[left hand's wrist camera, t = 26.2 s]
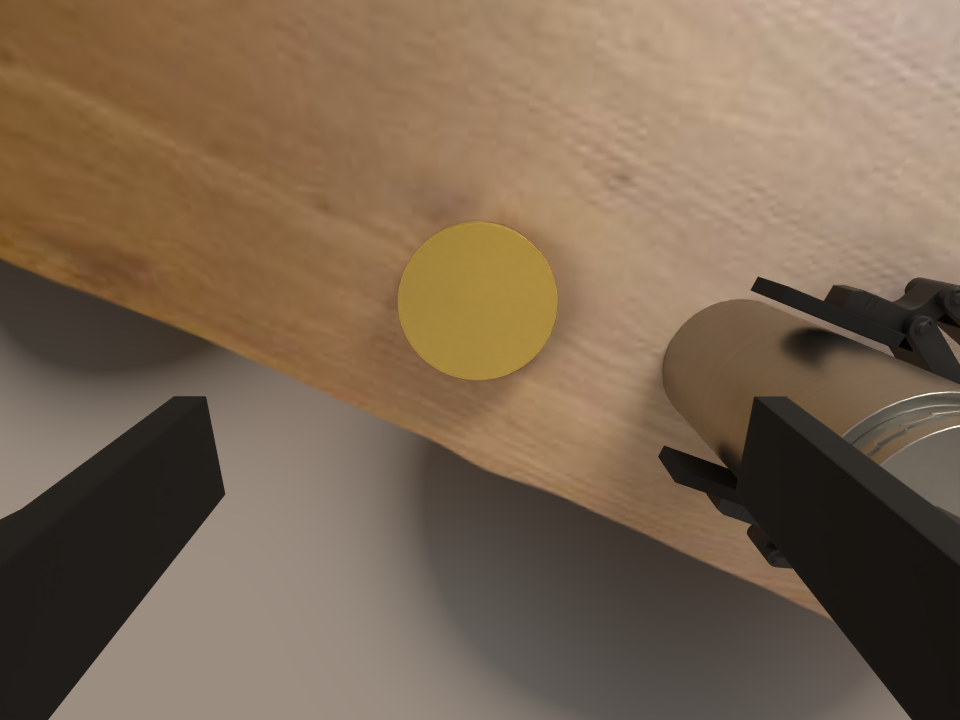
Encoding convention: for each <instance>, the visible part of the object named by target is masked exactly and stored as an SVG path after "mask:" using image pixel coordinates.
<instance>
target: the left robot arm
mask: <svg viewBox="0 0 960 720" xmlns="http://www.w3.org/2000/svg"><path fill="white" fill-rule="evenodd" d="M224 495H225V490H224V486H223V480H222V475H221V471H220V465H219V460H218V455H217V450H216V445H215V440H214V435H213V430H212V425H211V419H210V414H209V409H208V404H207V399H206V397H205V396H174V397H173V398H171V399H170V400H168V401H167V402H166V403H164V404H163V405H162V406H160V407H159V408H158V409H156V410H155V411H154V412H152V413H151V414H150V415H148V416H147V417H145V418H144V419H143V420H141V421H140V422H139V423H137V424H136V425H135V426H133V427H132V428H131V429H129V430H128V431H126V432H125V433H124V434H122V435H121V436H120V437H118V438H117V439H116V440H114V441H113V442H112V443H110V444H109V445H107V446H106V447H105V448H103V449H102V450H101V451H99V452H98V453H97V454H95V455H94V456H93V457H91V458H90V459H89V460H87V461H86V462H84V463H83V464H82V465H80V466H79V467H78V468H76V469H75V470H74V471H72V472H71V473H70V474H68V475H67V476H66V477H64V478H63V479H61V480H60V481H59V482H57V483H56V484H55V485H53V486H52V487H51V488H49V489H48V490H47V491H45V492H44V493H42V494H41V495H40V496H38V497H37V498H36V499H34V500H33V501H32V502H30V503H29V504H28V505H26V506H25V507H24V508H22V509H21V510H19V511H16V512H15V513H12V514H10V515H8V516H6V517H5V518H2V519H0V720H48V719H49V718H50V717H51V715H52V714H53V713H54V712H55V710H56V709H57V708H58V706H59V705H60V704H61V703H62V701H63V700H64V699H65V698H66V696H67V695H68V694H69V692H70V691H71V690H72V689H73V687H74V686H75V685H76V684H77V682H78V681H79V680H80V678H81V677H82V676H83V675H84V673H85V672H86V671H87V670H88V668H89V667H90V666H91V664H92V663H93V662H94V661H95V659H96V658H97V657H98V656H99V654H100V653H101V652H102V650H103V649H104V648H105V647H106V645H107V644H108V643H109V642H110V640H111V639H112V638H113V637H114V635H115V634H116V633H117V631H118V630H119V629H120V628H121V626H122V625H123V624H124V623H125V621H126V620H127V619H128V617H129V616H130V615H131V614H132V612H133V611H134V610H135V609H136V607H137V606H138V605H139V603H140V602H141V601H142V600H143V598H144V597H145V596H146V594H147V593H148V592H149V591H150V589H151V588H152V587H153V586H154V584H155V583H156V582H157V580H158V579H159V578H160V577H161V575H162V574H163V573H164V572H165V570H166V569H167V568H168V567H169V565H170V564H171V563H172V561H173V560H174V559H175V558H176V556H177V555H178V554H179V553H180V551H181V550H182V549H183V547H184V546H185V545H186V544H187V542H188V541H189V540H190V539H191V537H192V536H193V535H194V534H195V532H196V531H197V530H198V528H199V527H200V526H201V525H202V523H203V522H204V521H205V520H206V518H207V517H208V516H209V514H210V513H211V512H212V511H213V509H214V508H215V507H216V506H217V504H218V503H219V502H220V500H221V499H222V498H223V497H224ZM735 495H736V497H737V498H738V499H739V500H740V502H741V503H742V504H743V506H744V507H745V508H746V509H747V511H748V512H749V513H750V514H751V516H752V517H753V518H754V520H755V521H756V522H757V523H758V525H759V526H760V527H761V528H762V530H763V531H764V532H765V534H766V535H767V536H768V537H769V539H770V540H771V541H772V542H773V544H774V545H775V546H776V548H777V549H778V550H779V551H780V553H781V554H782V555H783V556H784V558H785V559H786V560H787V561H788V563H789V564H790V565H791V567H792V568H793V569H794V570H795V572H796V573H797V574H798V575H799V577H800V578H801V579H802V581H803V582H804V583H805V584H806V586H807V587H808V588H809V589H810V591H811V592H812V593H813V595H814V596H815V597H816V598H817V600H818V601H819V602H820V603H821V605H822V606H823V607H824V609H825V610H826V611H827V612H828V614H829V615H830V616H831V617H832V619H833V620H834V621H835V623H836V624H837V625H838V626H839V628H840V629H841V630H842V631H843V633H844V634H845V635H846V636H847V638H848V639H849V640H850V642H851V643H852V644H853V645H854V647H855V648H856V649H857V651H858V652H859V653H860V654H861V656H862V657H863V658H864V659H865V661H866V662H867V663H868V665H869V666H870V667H871V668H872V670H873V671H874V672H875V673H876V675H877V676H878V677H879V678H880V680H881V681H882V682H883V684H884V685H885V686H886V687H887V689H888V690H889V691H890V693H891V694H892V695H893V696H894V698H895V699H896V700H897V701H898V703H899V704H900V705H901V706H902V708H903V709H904V710H905V712H906V713H907V714H908V715H909V717H910V718H911V719H912V720H960V517H958V516H956V515H954V514H952V513H950V512H948V511H946V510H944V509H942V508H940V507H938V506H934V505H932V504H931V503H930V502H928V501H927V500H926V499H924V498H923V497H922V496H920V495H919V494H918V493H916V492H915V491H913V490H912V489H911V488H909V487H908V486H907V485H905V484H904V483H903V482H901V481H900V480H899V479H897V478H896V477H894V476H893V475H892V474H890V473H889V472H888V471H886V470H885V469H884V468H882V467H881V466H880V465H878V464H877V463H876V462H874V461H873V460H871V459H870V458H869V457H867V456H866V455H865V454H863V453H862V452H861V451H859V450H858V449H857V448H855V447H854V446H853V445H851V444H850V443H848V442H847V441H846V440H844V439H843V438H842V437H840V436H839V435H838V434H836V433H835V432H834V431H832V430H831V429H829V428H828V427H827V426H825V425H824V424H823V423H821V422H820V421H819V420H817V419H816V418H815V417H813V416H812V415H811V414H809V413H808V412H806V411H805V410H804V409H802V408H801V407H800V406H798V405H797V404H796V403H794V402H793V401H792V400H790V399H789V398H788V397H786V396H754V399H753V404H752V409H751V414H750V419H749V425H748V430H747V435H746V440H745V445H744V450H743V455H742V460H741V465H740V470H739V475H738V480H737V485H736V490H735Z"/></svg>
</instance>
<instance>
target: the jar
mask: <svg viewBox="0 0 960 720" xmlns="http://www.w3.org/2000/svg"><path fill="white" fill-rule="evenodd" d="M663 384H664V387H665V391H666V394H667V396H668V398H669V400H670V402H671V403H672V405H673V406H674V407H675V408H676V409H677V411H678V412H679V413H680V414H681V415H682V416H683V417H684V419H685V420H686V421H687V422H688V423H689V424H690V425H691V427H692V428H693V429H694V430H695V431H696V432H697V433H698V434H699V436H700V437H701V438H702V439H703V440H704V441H705V442H706V444H707V445H708V446H709V447H710V448H711V449H712V450H713V451H714V453H715V454H716V455H717V456H718V457H719V458H720V459H721V460H722V462H723V463H724V464H725V465H726V466H727V467H728V468H729V470H730V471H731V472H732V473H733V474H734V475H735V476H736V477H737V479H738V475H739V470H740V465H741V460H742V455H743V450H744V445H745V440H746V435H747V430H748V425H749V419H750V414H751V409H752V404H753V399H754V396H786V397H788V398H789V399H790V400H792V401H793V402H794V403H796V404H797V405H798V406H800V407H801V408H802V409H804V410H805V411H806V412H808V413H809V414H811V415H812V416H813V417H815V418H816V419H817V420H819V421H820V422H821V423H823V424H824V425H825V426H827V427H828V428H829V429H831V430H832V431H834V432H835V433H836V434H838V435H839V436H840V437H842V438H843V439H844V440H846V441H847V442H848V443H850V444H851V445H853V446H854V447H855V448H857V449H858V450H859V451H861V452H862V453H863V454H865V455H866V456H867V457H869V458H870V459H871V460H873V461H874V462H876V463H877V464H878V465H880V466H881V467H882V468H884V469H885V470H886V471H888V472H889V473H890V474H892V475H893V476H894V477H896V478H897V479H899V480H900V481H901V482H903V483H904V484H905V485H907V486H908V487H909V488H911V489H912V490H913V491H915V492H916V493H918V494H919V495H920V496H922V497H923V498H924V499H926V500H927V501H928V502H930V503H931V504H932V505H934V506H938V507H940V508H942V509H944V510H946V511H948V512H950V513H952V514H954V515H956V516H958V517H960V384H957V383H955V382H953V381H950V380H948V379H945V378H943V377H940V376H938V375H936V374H933V373H931V372H928V371H926V370H924V369H921V368H919V367H916V366H914V365H912V364H909V363H907V362H904V361H902V360H899V359H897V358H895V357H892V356H890V355H887V354H885V353H883V352H880V351H878V350H875V349H873V348H871V347H868V346H866V345H863V344H861V343H858V342H856V341H854V340H851V339H849V338H846V337H844V336H842V335H839V334H837V333H834V332H832V331H830V330H827V329H825V328H822V327H820V326H817V325H815V324H813V323H810V322H808V321H805V320H803V319H801V318H798V317H796V316H793V315H791V314H789V313H786V312H784V311H781V310H779V309H776V308H774V307H772V306H769V305H767V304H764V303H761V302H758V301H752V300H730V301H725V302H721V303H718V304H715V305H712V306H710V307H708V308H706V309H704V310H702V311H700V312H699V313H697V314H696V315H694V316H693V317H692V318H690V319H689V320H688V321H687V322H686V323H685V324H684V325H683V326H682V327H681V328H680V329H679V331H678V332H677V333H676V334H675V336H674V338H673V339H672V341H671V343H670V345H669V347H668V349H667V352H666V355H665V358H664V364H663Z"/></svg>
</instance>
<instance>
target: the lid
mask: <svg viewBox="0 0 960 720" xmlns="http://www.w3.org/2000/svg"><path fill="white" fill-rule="evenodd" d="M557 307H558V297H557V289H556V284H555V280H554V277H553V274H552V272H551V270H550V267H549V265H548V264H547V262H546V260H545V259H544V257H543V256H542V255H541V253H540V252H539V251H538V250H537V248H536V247H535V246H534V245H533V244H532V243H531V242H529V241H528V240H527V239H526V238H525V237H523V236H522V235H521V234H519V233H518V232H516V231H514V230H512V229H510V228H508V227H505V226H502V225H500V224H495V223H491V222H481V221H474V222H465V223H460V224H456V225H453V226H450V227H447V228H445V229H443V230H441V231H439V232H438V233H436V234H435V235H433V236H432V237H430V238H429V239H428V240H427V241H426V242H425V243H424V244H423V245H422V246H421V247H420V248H419V249H418V250H417V251H416V252H415V254H414V255H413V256H412V258H411V259H410V261H409V262H408V264H407V266H406V268H405V270H404V272H403V275H402V278H401V281H400V285H399V291H398V313H399V318H400V322H401V326H402V328H403V331H404V334H405V336H406V337H407V339H408V341H409V343H410V344H411V346H412V347H413V349H414V350H415V351H416V352H417V353H418V355H419V356H420V357H421V358H422V359H423V360H425V361H426V362H427V363H428V364H430V365H431V366H432V367H434V368H436V369H437V370H439V371H441V372H443V373H445V374H447V375H450V376H453V377H456V378H461V379H466V380H489V379H495V378H499V377H502V376H505V375H508V374H510V373H512V372H515V371H517V370H518V369H520V368H521V367H523V366H525V365H526V364H527V363H528V362H530V361H531V360H532V359H533V358H534V357H535V356H536V355H537V354H538V353H539V352H540V350H541V349H542V348H543V346H544V345H545V344H546V342H547V340H548V338H549V336H550V334H551V332H552V329H553V327H554V323H555V320H556V315H557Z"/></svg>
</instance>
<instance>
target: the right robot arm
mask: <svg viewBox="0 0 960 720" xmlns="http://www.w3.org/2000/svg"><path fill="white" fill-rule="evenodd" d="M751 291H753V292H756V293H758V294H761V295H763V296H766V297H768V298H771V299H773V300H776V301H778V302H781V303H783V304H785V305H788V306H790V307H793V308H795V309H798V310H800V311H803V312H805V313H808V314H810V315H812V316H815V317H817V318H820V319H822V320H825V321H827V322H830V323H832V324H835V325H837V326H840V327H842V328H844V329H847V330H849V331H852V332H854V333H857V334H859V335H862V336H864V337H867V338H869V339H872V340H875V341H877V342H880V343H882V344H885V345H887V346H889V348H890V350H891V351H892V353H893V355H894V356H895V358H897V359H899V360H902V361H904V362H907V363H909V364H912V365H914V366H916V367H919V368H921V369H924V370H926V371H928V372H931V373H933V374H936V375H938V376H940V377H943V378H945V379H948V380H950V381H953V382H955V383H957V384H960V364H959V363H958V361H957V359H956V357H955V356H954V354H953V352H952V351H951V349H950V347H949V345H948V344H947V342H946V340H945V338H944V337H943V335H942V333H941V332H940V330H939V328H938V326H939V327H940V328H941V329H942V330H943V331H944V332H945V333H947V334H948V335H949V336H950V337H951V338H952V339H953V340H954V341H956V342H957V343H958V344H959V345H960V286H959V285H954V284H950V283H945V282H940V281H935V280H930V279H926V278H915V279H913V280H911V281H910V282H909V283H908V284H907V286H906V288H905V295H904V296H903V297H901V298H900V299H899V300H897V301H894V302H890V301H888V300H885V299H883V298H881V297H878V296H876V295H873V294H871V293H869V292H866V291H864V290H860V289H857V288H853V287H849V286H846V285H833V287H832V288H831V290H830V292H829V293H828V295H827V297H826V298H825V300H824V301H822V300H819V299H817V298H815V297H812V296H810V295H807V294H805V293H802V292H800V291H798V290H795V289H793V288H790V287H788V286H785V285H782V284H779V283H776V282H773V281H770V280H767V279H764V278H760V277H758V278H757V279H756V281H755V283H754V285H753V287H752V288H751ZM937 325H938V326H937ZM658 457H659V459H660V460H661V462H662V463H663V465H664V466H665V468H666V469H667V471H668V472H669V474H670V475H671V477H672V478H673V480H674V481H675V482H676V483H679V484H682V485H685V486H688V487H690V488H693V489H696V490H699V491H702V492H705V493H707V496H708V497H709V499H710V500H711V501H712V503H713V504H714V505H715V507H716V508H717V509H718V510H719V511H720V512H721V513H722V514H723V515H726V516H729V517H733V518H735V519H739V520H741V521H744V522H746V523H749V524H752V525H751V526H750V527H749V528H748V530H747V535H748V537H749V538H750V539H751V541H752V542H753V543H754V545H755V546H756V547H757V549H758V550H759V551H760V552H761V554H762V555H763V556H764V558H765V559H766V560H767V562H768V563H769V564H770V565H771V566H773V567H780V568H792V567H791V565H790V564H789V563H788V561H787V560H786V559H785V558H784V556H783V555H782V554H781V553H780V551H779V550H778V549H777V548H776V546H775V545H774V544H773V542H772V541H771V540H770V539H769V537H768V536H767V535H766V534H765V532H764V531H763V530H762V528H761V527H760V526H759V525H758V523H757V522H756V521H755V520H754V518H753V517H752V516H751V514H750V513H749V512H748V511H747V509H746V508H745V507H744V506H743V504H742V503H741V502H740V500H739V499H738V498H737V497H736V495H735V490H736V485H737V480H738V479H737V477H736V476H735V475H734V474H733V473H732V472H731V471H730V470H729V469H728V468H725V467H722V466H720V465H717V464H714V463H711V462H708V461H706V460H703V459H700V458H697V457H694V456H692V455H689V454H686V453H683V452H681V451H678V450H675V449H672V448H669V447H667V446H664V447H663V449H662V451H661V452H660V454H659V456H658ZM792 569H793V568H792Z"/></svg>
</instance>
